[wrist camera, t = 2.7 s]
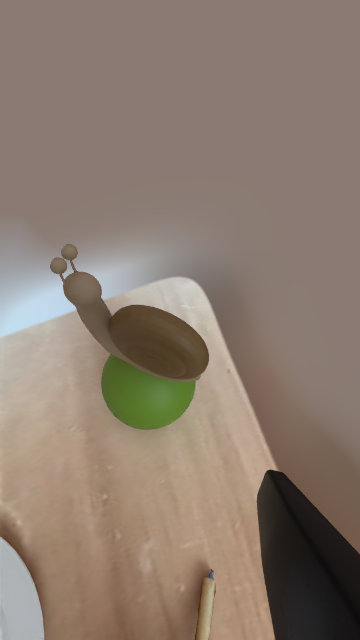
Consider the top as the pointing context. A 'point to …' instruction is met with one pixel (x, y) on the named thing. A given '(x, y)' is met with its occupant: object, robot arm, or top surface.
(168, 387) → the snail figurine
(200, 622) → the toy figure
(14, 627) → the candle holder
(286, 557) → the robot arm
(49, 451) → the top surface
